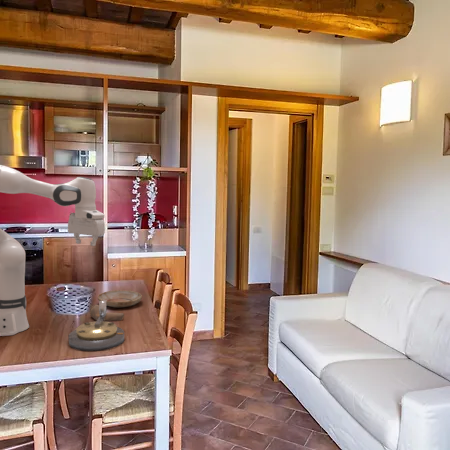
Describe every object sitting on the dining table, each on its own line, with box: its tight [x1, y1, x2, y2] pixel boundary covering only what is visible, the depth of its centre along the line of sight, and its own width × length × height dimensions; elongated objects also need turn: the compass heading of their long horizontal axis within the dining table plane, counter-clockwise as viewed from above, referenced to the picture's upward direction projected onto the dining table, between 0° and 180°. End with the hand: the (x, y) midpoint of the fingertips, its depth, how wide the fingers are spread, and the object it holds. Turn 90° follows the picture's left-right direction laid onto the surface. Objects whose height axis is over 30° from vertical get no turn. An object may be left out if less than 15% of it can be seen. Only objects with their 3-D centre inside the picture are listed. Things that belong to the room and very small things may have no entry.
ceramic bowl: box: [97, 289, 143, 308], centre depth 233 cm, size 23×24×5 cm
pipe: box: [89, 304, 125, 322], centre depth 208 cm, size 6×17×10 cm
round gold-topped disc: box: [75, 300, 118, 341], centre depth 182 cm, size 23×16×10 cm
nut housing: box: [68, 326, 125, 352], centre depth 179 cm, size 22×22×3 cm
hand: (85, 244), depth 194 cm, fingers open, 8 cm apart
